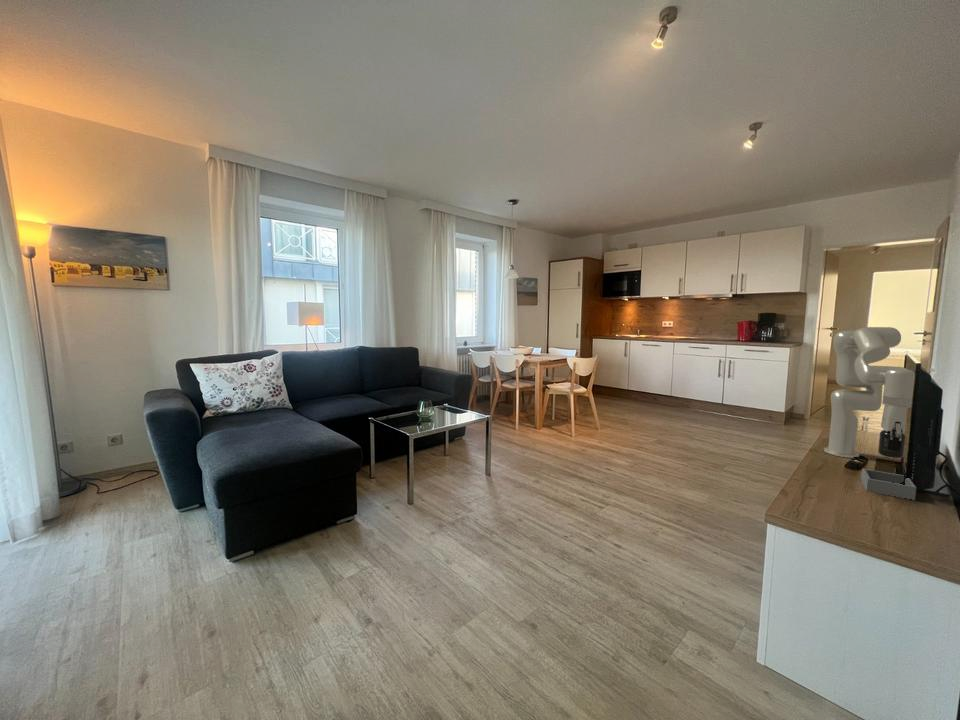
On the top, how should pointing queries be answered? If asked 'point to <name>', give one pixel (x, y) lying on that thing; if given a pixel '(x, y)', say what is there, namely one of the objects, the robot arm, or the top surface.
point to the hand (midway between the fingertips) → (891, 447)
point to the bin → (888, 484)
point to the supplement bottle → (884, 445)
